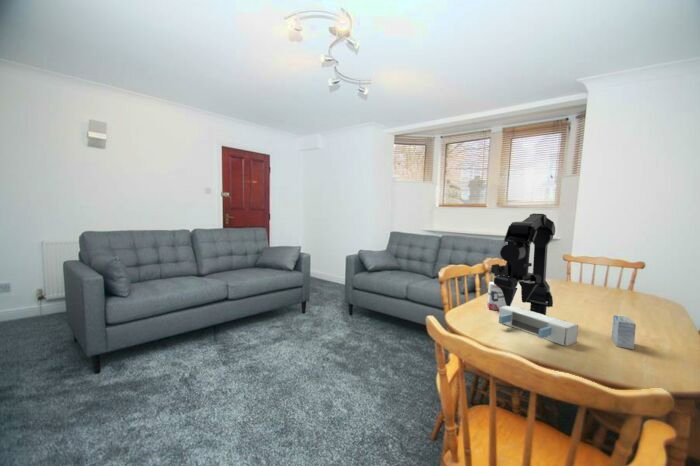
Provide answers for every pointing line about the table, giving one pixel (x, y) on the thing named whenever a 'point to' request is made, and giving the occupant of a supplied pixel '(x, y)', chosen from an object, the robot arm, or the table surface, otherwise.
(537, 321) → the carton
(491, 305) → the ink box
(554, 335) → the flap
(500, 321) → the flap
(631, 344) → the medicine box
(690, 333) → the table surface
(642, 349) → the table surface
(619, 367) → the table surface
